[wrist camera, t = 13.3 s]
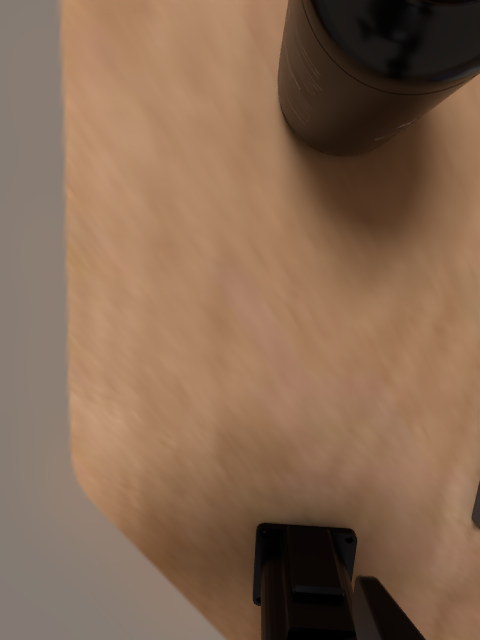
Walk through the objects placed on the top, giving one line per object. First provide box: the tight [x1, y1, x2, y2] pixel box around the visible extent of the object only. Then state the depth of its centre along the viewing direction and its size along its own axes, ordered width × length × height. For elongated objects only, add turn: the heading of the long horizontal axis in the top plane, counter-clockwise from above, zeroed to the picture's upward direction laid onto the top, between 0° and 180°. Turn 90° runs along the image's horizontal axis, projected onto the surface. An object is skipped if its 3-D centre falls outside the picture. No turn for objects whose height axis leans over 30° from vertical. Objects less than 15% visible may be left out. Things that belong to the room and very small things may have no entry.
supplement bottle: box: [278, 0, 480, 156], centre depth 11 cm, size 7×7×12 cm
